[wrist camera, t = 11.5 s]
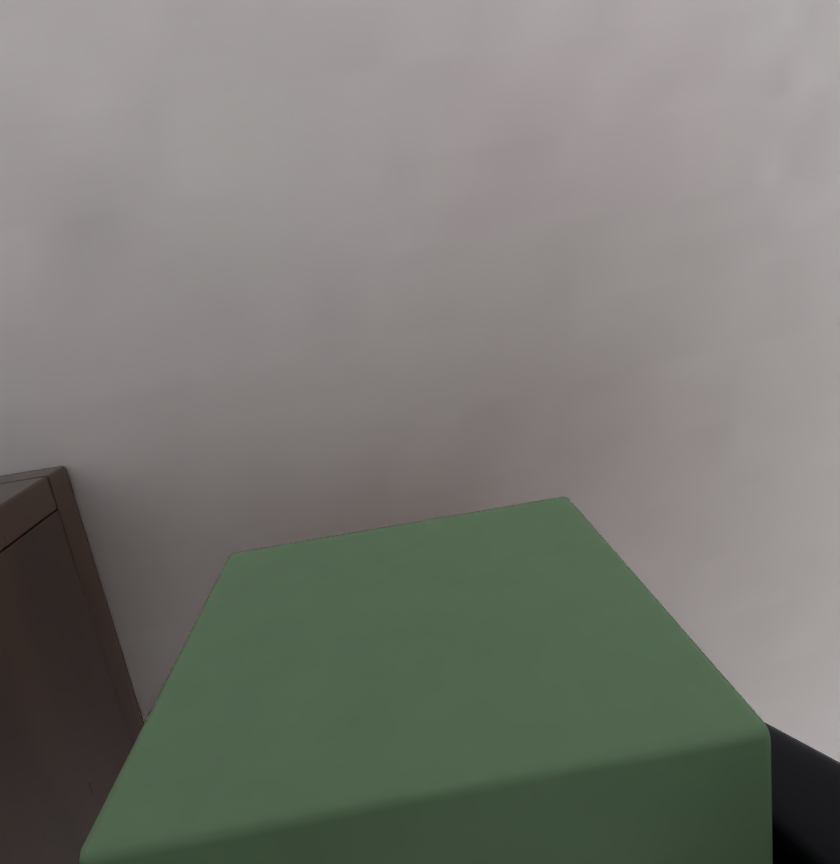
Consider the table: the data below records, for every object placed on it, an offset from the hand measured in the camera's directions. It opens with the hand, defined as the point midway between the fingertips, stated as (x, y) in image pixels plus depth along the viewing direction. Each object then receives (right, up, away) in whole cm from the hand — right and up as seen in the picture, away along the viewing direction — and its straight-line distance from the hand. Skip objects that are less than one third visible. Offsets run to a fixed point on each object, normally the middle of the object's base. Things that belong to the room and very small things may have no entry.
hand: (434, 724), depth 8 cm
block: (0, 0, +1) cm, 1 cm away
